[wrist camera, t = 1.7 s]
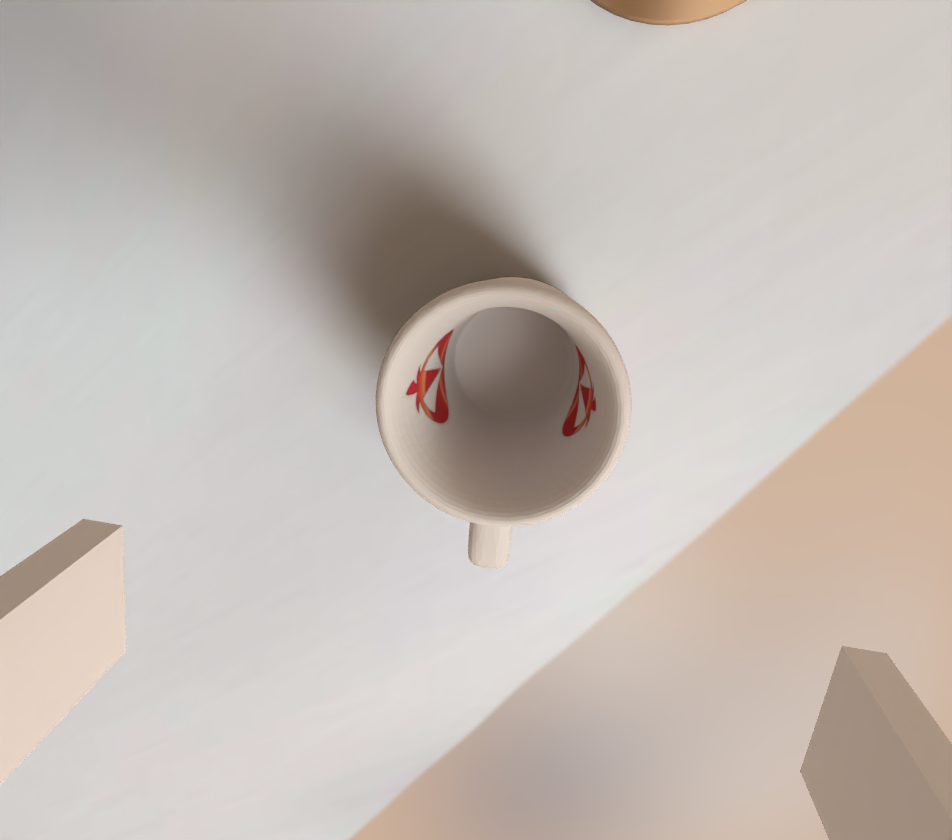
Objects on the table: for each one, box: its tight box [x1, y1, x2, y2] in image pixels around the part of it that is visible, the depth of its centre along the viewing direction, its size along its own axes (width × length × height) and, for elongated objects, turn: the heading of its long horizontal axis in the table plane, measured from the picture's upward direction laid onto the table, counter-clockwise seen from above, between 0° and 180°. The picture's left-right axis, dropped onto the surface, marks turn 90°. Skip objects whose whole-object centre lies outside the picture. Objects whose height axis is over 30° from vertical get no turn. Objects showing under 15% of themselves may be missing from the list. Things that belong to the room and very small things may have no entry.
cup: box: [376, 277, 632, 569], centre depth 26 cm, size 11×8×8 cm
